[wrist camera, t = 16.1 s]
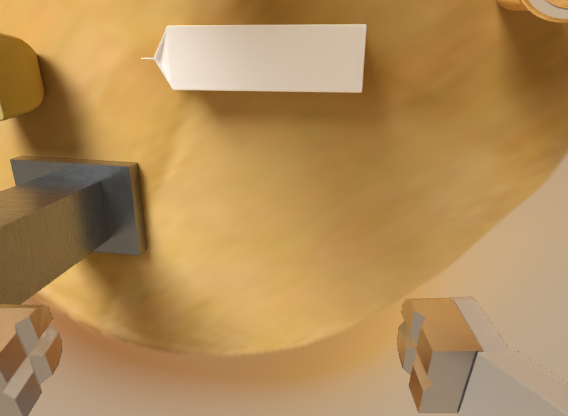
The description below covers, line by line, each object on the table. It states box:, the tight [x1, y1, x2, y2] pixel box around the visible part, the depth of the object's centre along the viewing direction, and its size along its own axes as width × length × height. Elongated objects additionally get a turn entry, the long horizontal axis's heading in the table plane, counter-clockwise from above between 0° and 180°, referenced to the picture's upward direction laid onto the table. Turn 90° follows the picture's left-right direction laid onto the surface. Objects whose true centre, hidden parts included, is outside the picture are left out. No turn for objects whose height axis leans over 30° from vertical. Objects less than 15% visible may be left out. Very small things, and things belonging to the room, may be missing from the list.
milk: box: [141, 24, 367, 93], centre depth 40 cm, size 6×6×22 cm
